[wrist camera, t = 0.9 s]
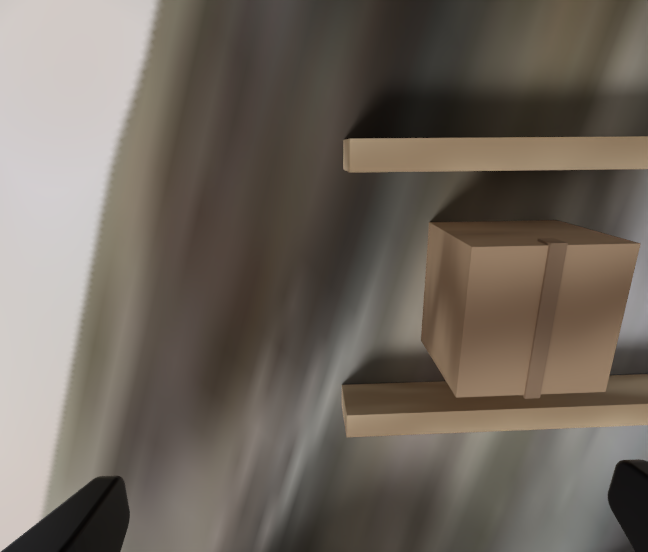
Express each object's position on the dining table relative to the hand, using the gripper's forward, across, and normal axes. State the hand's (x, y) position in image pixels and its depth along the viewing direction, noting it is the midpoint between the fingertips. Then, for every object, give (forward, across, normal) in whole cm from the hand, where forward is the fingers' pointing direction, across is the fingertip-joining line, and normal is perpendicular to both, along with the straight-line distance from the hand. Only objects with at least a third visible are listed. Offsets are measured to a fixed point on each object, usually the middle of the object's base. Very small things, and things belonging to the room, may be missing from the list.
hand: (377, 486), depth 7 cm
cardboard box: (+12, -8, 0) cm, 15 cm away
